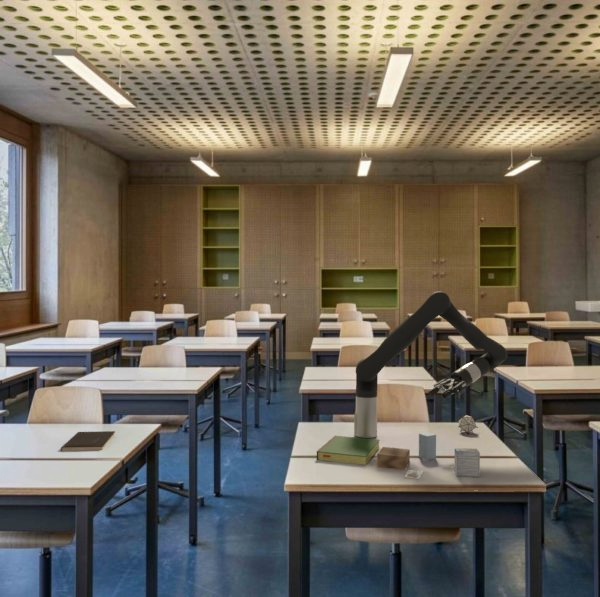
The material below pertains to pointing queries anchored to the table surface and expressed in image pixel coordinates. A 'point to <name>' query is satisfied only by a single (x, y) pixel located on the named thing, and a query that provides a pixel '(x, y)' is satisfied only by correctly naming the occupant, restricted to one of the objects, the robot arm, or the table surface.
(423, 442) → the top brick
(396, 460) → the base brick
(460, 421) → the game die
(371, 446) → the hardcover book
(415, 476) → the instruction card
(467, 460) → the medicine box
